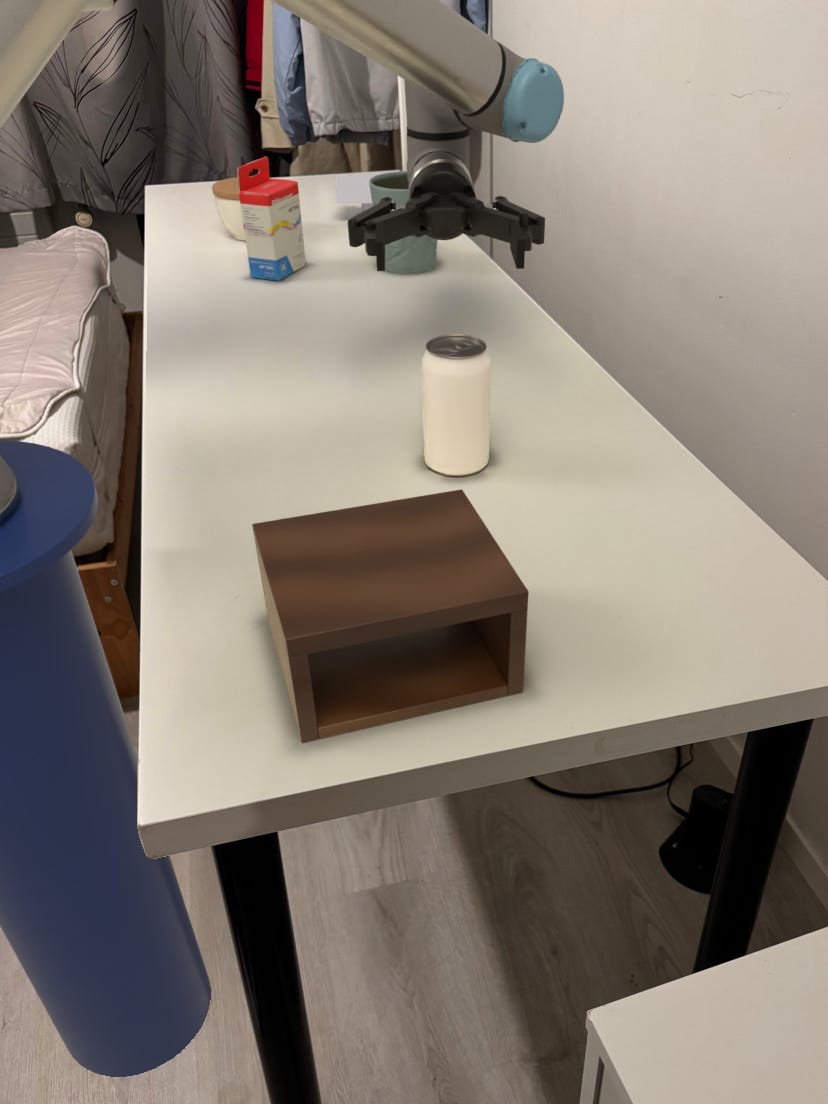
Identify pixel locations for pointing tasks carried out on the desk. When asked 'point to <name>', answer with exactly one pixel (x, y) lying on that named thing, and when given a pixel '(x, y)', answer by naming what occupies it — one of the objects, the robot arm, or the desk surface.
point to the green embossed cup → (410, 250)
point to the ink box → (270, 222)
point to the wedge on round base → (354, 190)
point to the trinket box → (229, 206)
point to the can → (456, 404)
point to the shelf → (390, 612)
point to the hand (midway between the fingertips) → (450, 255)
